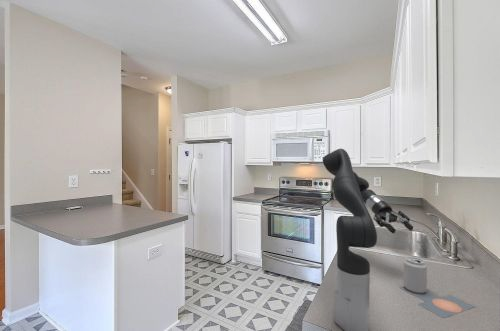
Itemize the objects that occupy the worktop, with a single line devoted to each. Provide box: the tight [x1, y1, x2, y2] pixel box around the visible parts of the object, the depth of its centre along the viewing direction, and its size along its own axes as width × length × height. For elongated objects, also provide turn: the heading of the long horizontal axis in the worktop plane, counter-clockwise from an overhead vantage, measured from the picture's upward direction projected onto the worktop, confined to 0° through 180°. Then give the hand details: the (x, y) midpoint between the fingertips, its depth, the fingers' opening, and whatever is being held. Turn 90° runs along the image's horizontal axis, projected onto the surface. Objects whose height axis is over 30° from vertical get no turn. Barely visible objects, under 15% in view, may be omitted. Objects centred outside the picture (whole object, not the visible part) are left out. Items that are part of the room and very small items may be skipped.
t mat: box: [399, 286, 476, 319], centre depth 86 cm, size 18×18×1 cm
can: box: [402, 256, 428, 294], centre depth 92 cm, size 8×8×12 cm
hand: (403, 230), depth 99 cm, fingers open, 8 cm apart
